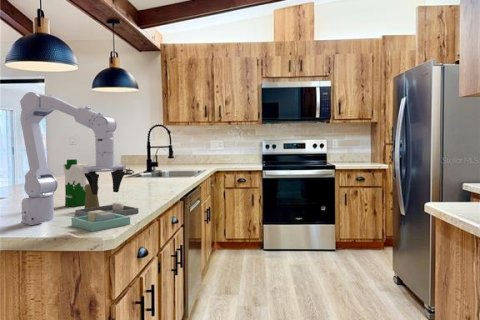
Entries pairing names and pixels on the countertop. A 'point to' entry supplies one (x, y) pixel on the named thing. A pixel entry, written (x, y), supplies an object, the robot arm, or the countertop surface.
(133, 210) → the tray
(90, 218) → the tan rectangular block
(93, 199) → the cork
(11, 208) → the countertop surface
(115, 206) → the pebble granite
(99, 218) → the light gray rectangular block
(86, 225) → the dish
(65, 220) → the countertop surface
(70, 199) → the milk carton
